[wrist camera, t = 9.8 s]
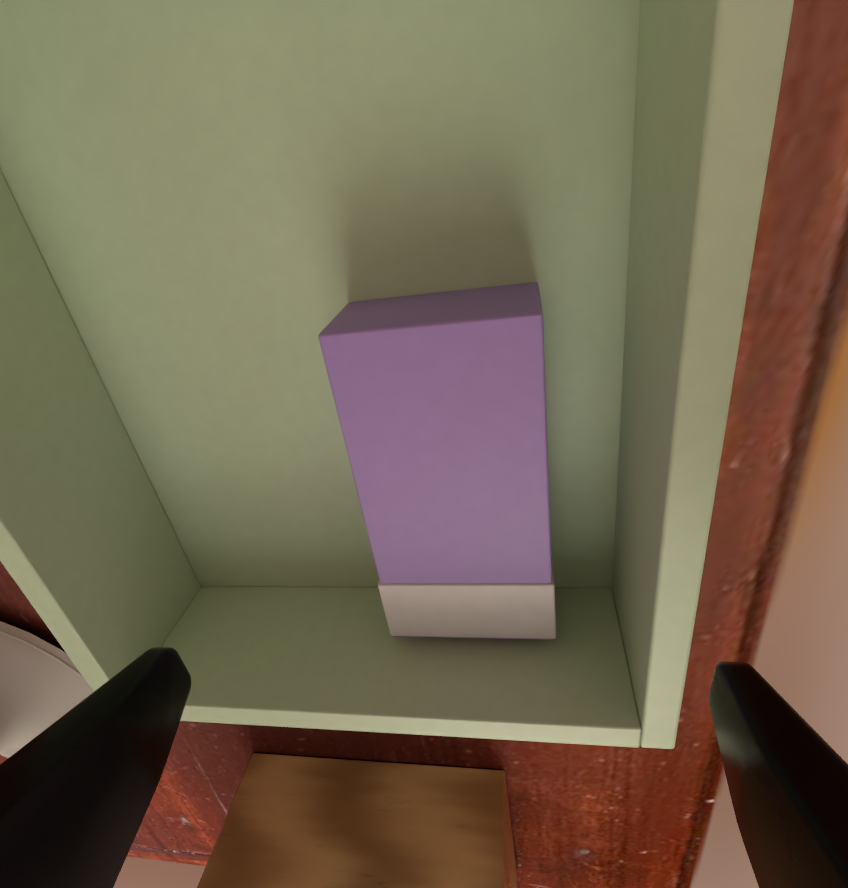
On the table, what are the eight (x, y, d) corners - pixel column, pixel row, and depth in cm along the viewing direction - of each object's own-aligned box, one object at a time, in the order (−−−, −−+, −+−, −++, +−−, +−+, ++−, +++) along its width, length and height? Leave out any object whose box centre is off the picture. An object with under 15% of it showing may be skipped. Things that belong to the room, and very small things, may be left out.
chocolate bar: (540, 280, 12) (545, 313, 10) (550, 575, 16) (556, 642, 14) (346, 301, 13) (313, 335, 11) (405, 576, 17) (390, 639, 15)
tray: (714, -438, 7) (993, -1214, 3) (634, 593, 17) (675, 750, 13) (-161, -139, 10) (-632, -320, 6) (196, 591, 20) (110, 717, 16)
